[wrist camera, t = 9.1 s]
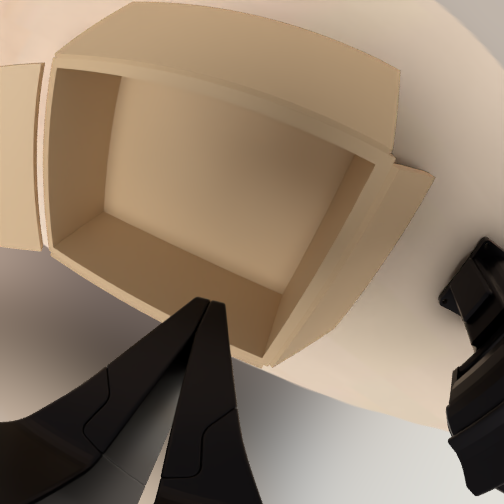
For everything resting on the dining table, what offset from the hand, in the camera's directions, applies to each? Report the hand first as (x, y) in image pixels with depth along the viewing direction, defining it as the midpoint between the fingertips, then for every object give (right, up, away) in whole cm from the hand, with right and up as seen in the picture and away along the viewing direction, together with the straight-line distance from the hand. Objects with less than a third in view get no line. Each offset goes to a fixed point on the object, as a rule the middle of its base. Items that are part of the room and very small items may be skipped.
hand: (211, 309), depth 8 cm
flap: (-16, +8, +5) cm, 18 cm away
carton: (0, +6, +11) cm, 13 cm away
